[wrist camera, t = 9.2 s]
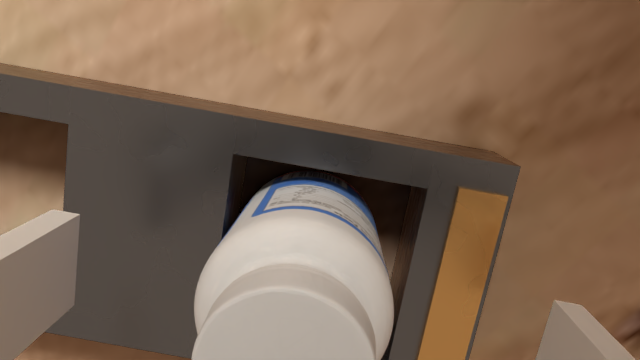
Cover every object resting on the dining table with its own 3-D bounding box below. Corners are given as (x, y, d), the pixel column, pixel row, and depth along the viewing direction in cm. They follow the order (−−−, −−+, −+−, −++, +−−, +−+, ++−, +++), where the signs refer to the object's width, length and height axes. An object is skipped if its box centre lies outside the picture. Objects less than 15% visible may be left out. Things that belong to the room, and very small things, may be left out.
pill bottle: (299, 319, 21) (260, 528, 11) (215, 222, 20) (98, 357, 11) (405, 243, 20) (460, 401, 10) (321, 138, 19) (297, 203, 10)
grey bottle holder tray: (-125, 40, 19) (-217, 35, 16) (493, 151, 19) (522, 168, 16) (-120, 258, 21) (-200, 291, 18) (439, 359, 21) (456, 410, 18)
